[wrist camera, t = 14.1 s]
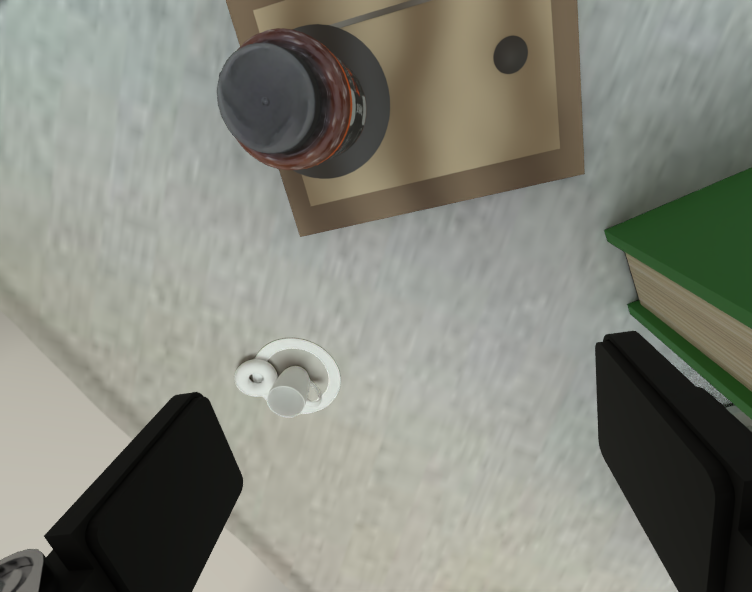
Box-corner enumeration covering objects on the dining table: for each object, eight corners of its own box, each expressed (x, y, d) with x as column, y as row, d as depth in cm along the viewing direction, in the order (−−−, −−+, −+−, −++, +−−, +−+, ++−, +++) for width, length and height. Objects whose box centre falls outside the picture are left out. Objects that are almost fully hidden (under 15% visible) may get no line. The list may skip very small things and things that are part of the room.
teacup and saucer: (231, 379, 38) (212, 407, 34) (269, 314, 35) (253, 338, 31) (314, 423, 39) (304, 455, 35) (358, 364, 36) (352, 393, 32)
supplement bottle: (384, 86, 26) (369, 64, 15) (343, 173, 28) (305, 206, 18) (297, 36, 25) (219, -24, 14) (262, 129, 27) (173, 136, 17)
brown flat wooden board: (564, -128, 22) (573, -142, 21) (578, 172, 28) (586, 174, 27) (218, -13, 25) (209, -20, 24) (297, 234, 31) (292, 239, 30)
